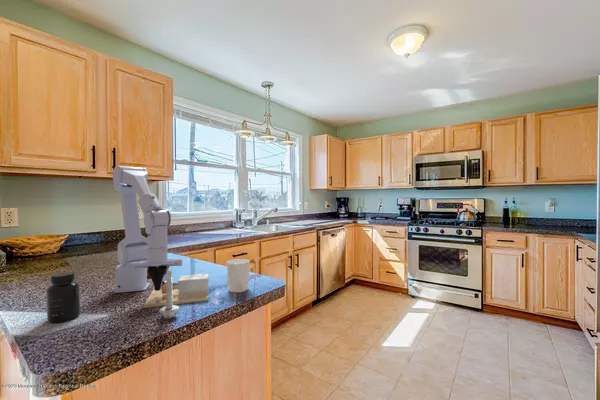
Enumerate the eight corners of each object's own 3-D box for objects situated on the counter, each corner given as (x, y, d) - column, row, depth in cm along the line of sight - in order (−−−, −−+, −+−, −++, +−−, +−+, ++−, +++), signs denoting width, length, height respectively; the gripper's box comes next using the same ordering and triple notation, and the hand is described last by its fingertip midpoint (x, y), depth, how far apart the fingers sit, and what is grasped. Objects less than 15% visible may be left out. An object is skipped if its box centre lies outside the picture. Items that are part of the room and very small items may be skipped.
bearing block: (143, 307, 82) (143, 287, 82) (153, 292, 95) (153, 275, 95) (208, 300, 87) (208, 281, 87) (208, 287, 100) (208, 270, 100)
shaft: (161, 295, 88) (161, 283, 87) (163, 291, 91) (163, 279, 91) (199, 291, 91) (199, 279, 91) (200, 288, 95) (200, 276, 95)
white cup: (253, 287, 100) (253, 259, 100) (242, 294, 93) (242, 264, 93) (234, 285, 103) (234, 258, 103) (222, 291, 95) (222, 262, 95)
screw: (173, 320, 73) (155, 320, 73) (182, 313, 78) (165, 312, 78) (173, 271, 73) (155, 271, 73) (181, 266, 78) (165, 266, 78)
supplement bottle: (60, 313, 78) (59, 270, 78) (86, 312, 78) (85, 270, 78) (39, 324, 71) (38, 277, 71) (67, 323, 72) (67, 277, 72)
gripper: (128, 251, 83) (128, 296, 83) (180, 248, 87) (181, 291, 87) (134, 247, 90) (134, 289, 90) (182, 244, 94) (183, 284, 94)
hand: (157, 289), depth 89 cm, fingers closed
